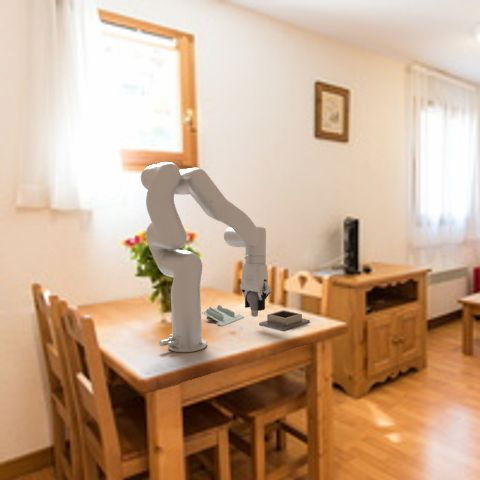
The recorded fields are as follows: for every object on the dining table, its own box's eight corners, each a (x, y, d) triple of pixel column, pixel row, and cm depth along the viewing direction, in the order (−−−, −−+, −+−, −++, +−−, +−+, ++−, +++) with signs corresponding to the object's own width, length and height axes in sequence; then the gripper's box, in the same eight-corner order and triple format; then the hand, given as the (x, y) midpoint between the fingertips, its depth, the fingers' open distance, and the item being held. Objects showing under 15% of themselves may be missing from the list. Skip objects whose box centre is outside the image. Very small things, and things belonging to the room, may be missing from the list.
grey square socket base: (282, 331, 149) (282, 321, 149) (259, 324, 158) (259, 315, 158) (309, 322, 160) (309, 313, 160) (286, 316, 169) (286, 308, 169)
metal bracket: (197, 308, 164) (220, 301, 176) (195, 321, 165) (218, 313, 177) (225, 323, 156) (247, 314, 168) (222, 337, 158) (244, 327, 170)
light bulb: (251, 314, 156) (251, 287, 156) (265, 316, 153) (266, 289, 153) (243, 317, 151) (244, 290, 150) (257, 319, 148) (258, 291, 147)
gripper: (232, 259, 155) (231, 306, 156) (265, 262, 142) (264, 314, 143) (246, 258, 160) (245, 303, 161) (279, 261, 147) (279, 311, 148)
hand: (254, 308), depth 152 cm, fingers closed on light bulb, 6 cm apart
